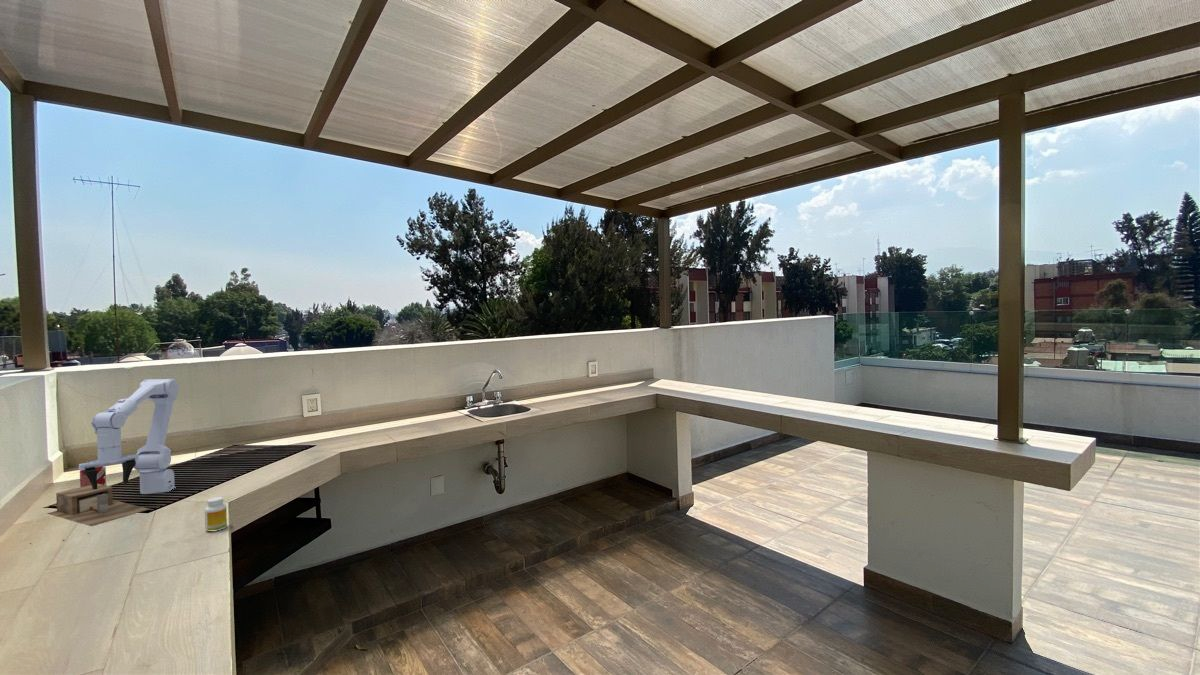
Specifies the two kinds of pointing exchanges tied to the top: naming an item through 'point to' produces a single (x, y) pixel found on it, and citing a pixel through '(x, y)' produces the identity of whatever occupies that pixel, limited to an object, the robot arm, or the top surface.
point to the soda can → (100, 477)
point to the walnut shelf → (91, 517)
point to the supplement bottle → (215, 514)
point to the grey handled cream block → (93, 503)
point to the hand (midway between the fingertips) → (110, 485)
